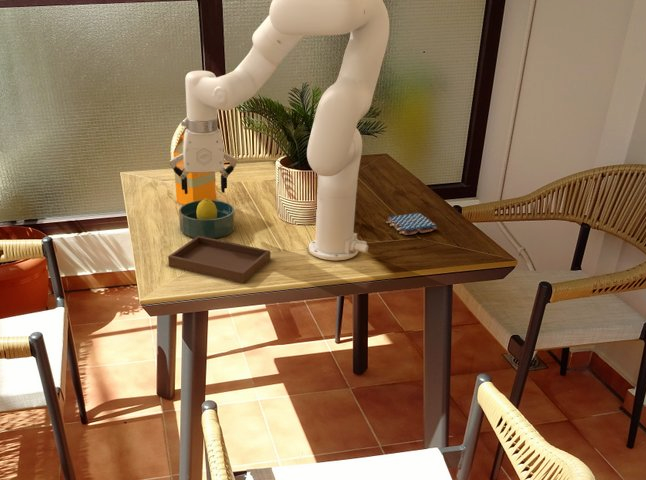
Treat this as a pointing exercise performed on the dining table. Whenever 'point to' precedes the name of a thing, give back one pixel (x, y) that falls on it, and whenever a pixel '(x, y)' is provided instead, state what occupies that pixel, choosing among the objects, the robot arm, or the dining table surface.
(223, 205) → the bowl
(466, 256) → the dining table surface
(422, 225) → the woven mat
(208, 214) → the lemon
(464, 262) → the dining table surface
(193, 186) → the orange juice
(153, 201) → the dining table surface
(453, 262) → the dining table surface
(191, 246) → the tray
